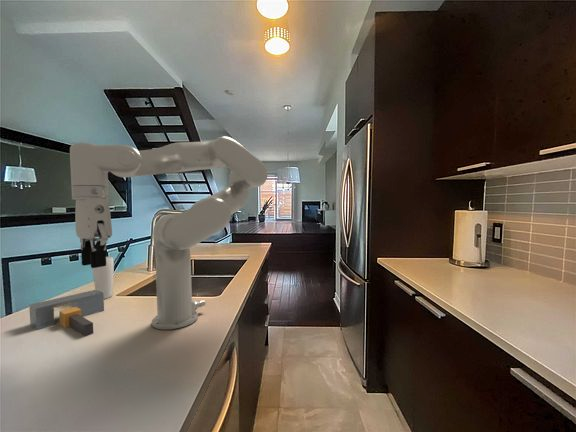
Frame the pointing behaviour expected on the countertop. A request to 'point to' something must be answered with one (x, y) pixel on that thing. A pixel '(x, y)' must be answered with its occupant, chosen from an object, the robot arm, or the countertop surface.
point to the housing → (85, 301)
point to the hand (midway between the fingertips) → (93, 264)
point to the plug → (76, 321)
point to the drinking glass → (104, 278)
